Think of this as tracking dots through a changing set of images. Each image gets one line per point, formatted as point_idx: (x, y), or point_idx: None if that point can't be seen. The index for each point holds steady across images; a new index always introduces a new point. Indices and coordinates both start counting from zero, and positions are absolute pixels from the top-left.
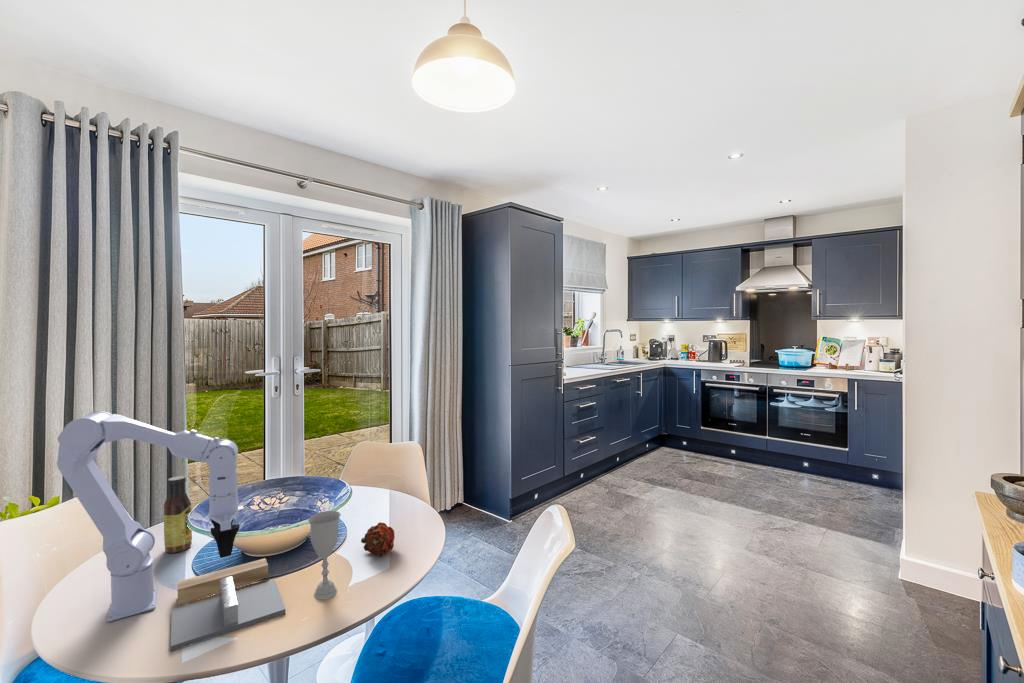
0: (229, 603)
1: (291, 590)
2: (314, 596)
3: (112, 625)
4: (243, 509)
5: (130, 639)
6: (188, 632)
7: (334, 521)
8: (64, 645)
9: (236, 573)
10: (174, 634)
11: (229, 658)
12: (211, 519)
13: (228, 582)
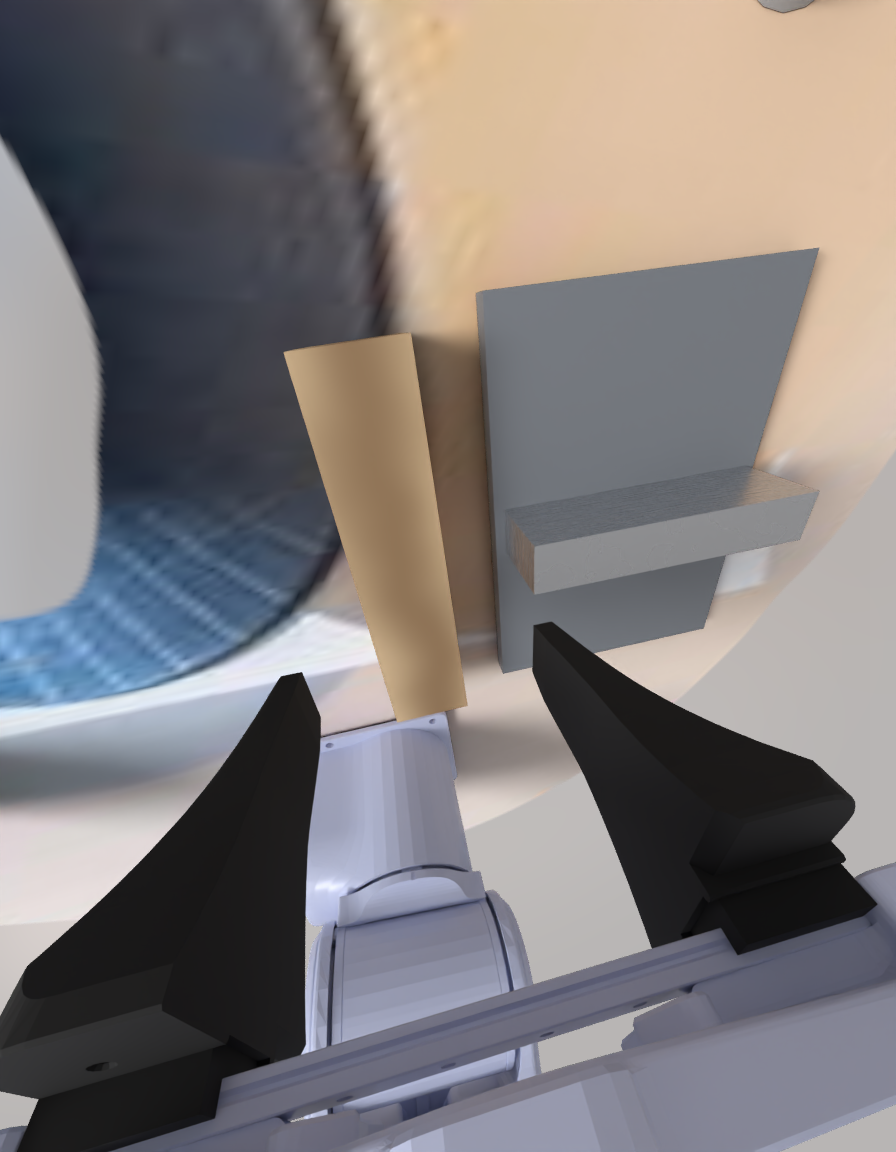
0: (782, 524)
1: (609, 183)
2: (794, 4)
3: (473, 760)
4: (633, 1144)
5: None
6: (673, 603)
7: None
8: (506, 798)
9: (439, 523)
10: (654, 633)
11: (858, 471)
12: (299, 1026)
13: (592, 553)
